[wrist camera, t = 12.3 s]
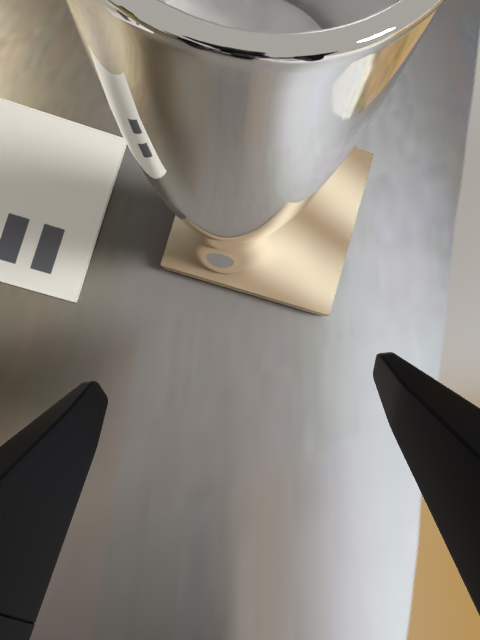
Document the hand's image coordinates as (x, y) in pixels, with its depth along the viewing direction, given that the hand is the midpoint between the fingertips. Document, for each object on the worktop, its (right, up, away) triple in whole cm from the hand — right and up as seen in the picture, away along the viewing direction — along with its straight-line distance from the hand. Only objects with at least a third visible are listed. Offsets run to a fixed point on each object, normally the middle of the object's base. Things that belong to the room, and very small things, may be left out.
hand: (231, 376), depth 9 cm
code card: (-14, +10, +10) cm, 20 cm away
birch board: (+2, +10, +11) cm, 15 cm away
